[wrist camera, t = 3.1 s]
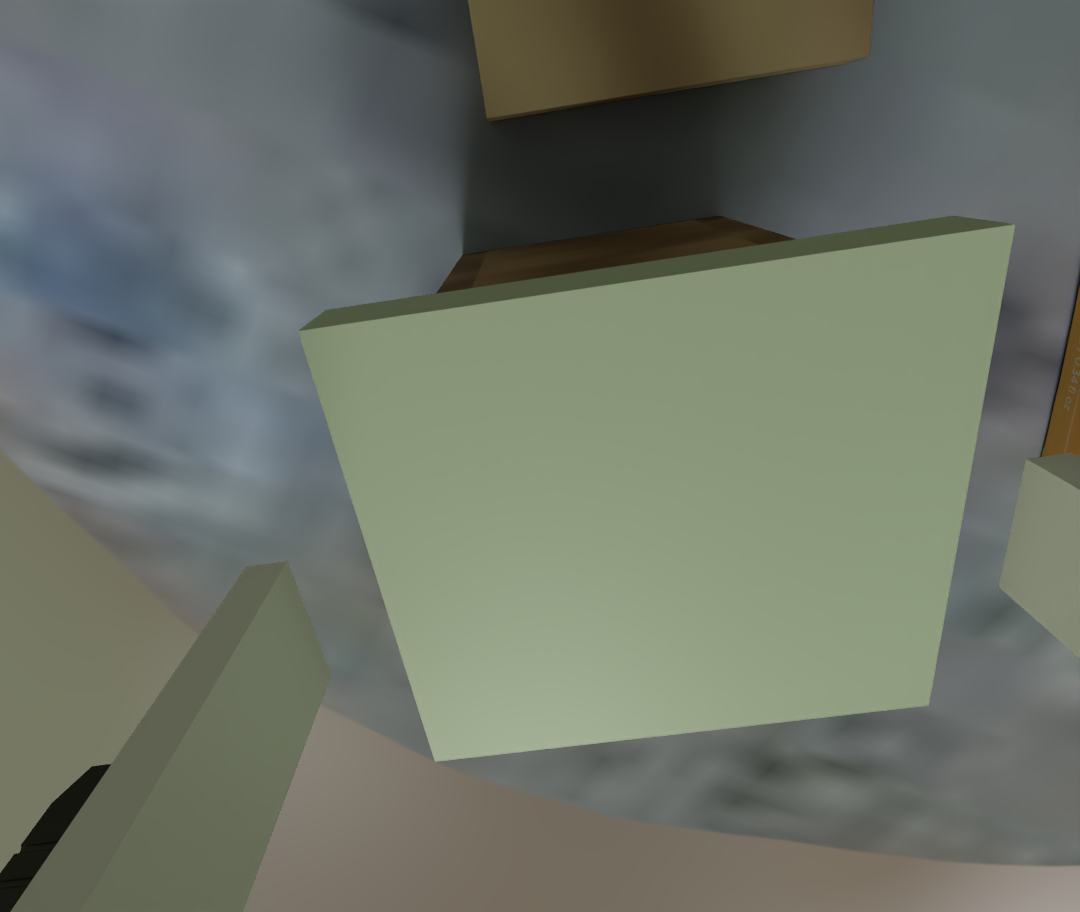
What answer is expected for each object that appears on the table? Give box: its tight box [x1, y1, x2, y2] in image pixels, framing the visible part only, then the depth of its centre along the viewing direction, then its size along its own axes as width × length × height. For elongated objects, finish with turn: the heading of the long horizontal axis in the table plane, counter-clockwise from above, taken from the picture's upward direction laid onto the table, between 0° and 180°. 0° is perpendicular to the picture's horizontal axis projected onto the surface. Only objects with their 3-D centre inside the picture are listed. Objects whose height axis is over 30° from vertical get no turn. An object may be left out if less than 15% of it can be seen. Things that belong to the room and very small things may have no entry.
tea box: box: [437, 216, 796, 293], centre depth 17 cm, size 8×9×9 cm
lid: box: [298, 216, 1015, 762], centre depth 13 cm, size 11×10×3 cm
